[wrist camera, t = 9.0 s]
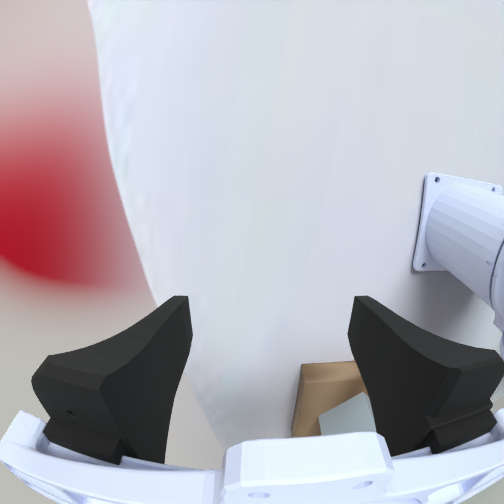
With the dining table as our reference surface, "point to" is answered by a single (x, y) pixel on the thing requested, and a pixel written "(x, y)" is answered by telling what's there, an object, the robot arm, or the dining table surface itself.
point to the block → (348, 417)
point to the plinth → (323, 393)
